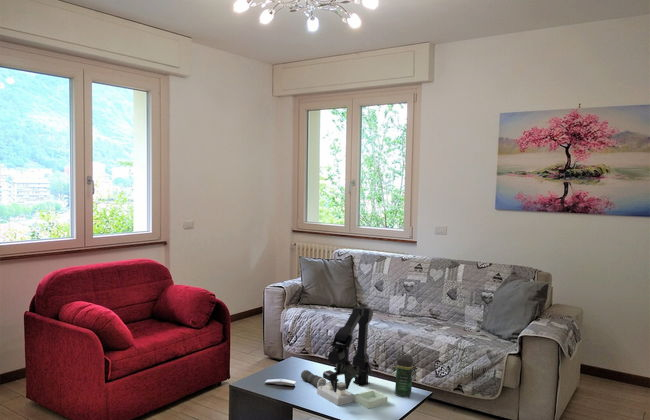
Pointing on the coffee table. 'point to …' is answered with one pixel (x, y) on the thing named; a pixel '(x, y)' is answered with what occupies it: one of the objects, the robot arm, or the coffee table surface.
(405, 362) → the coffee jar
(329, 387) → the block
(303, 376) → the flashlight
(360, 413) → the coffee table surface
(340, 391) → the block
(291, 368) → the coffee table surface
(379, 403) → the parts tray
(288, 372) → the coffee table surface
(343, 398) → the fuse block
